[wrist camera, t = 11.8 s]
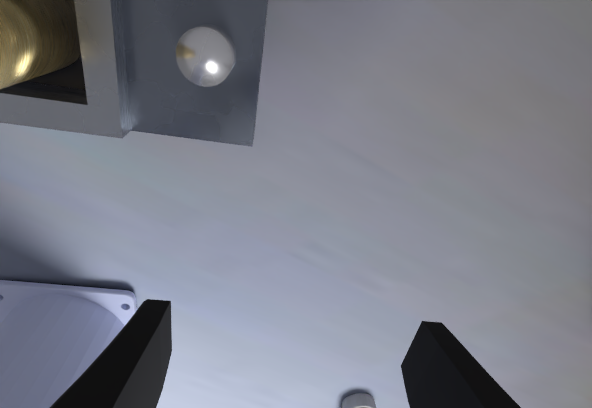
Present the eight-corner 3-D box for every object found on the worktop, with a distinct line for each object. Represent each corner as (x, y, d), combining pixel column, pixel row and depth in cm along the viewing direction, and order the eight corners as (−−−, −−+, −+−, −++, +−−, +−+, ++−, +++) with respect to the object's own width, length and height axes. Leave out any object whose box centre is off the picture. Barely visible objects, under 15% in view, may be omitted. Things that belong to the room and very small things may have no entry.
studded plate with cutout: (253, 138, 17) (250, 159, 15) (-177, 80, 15) (-253, 94, 13) (273, -48, 13) (271, -56, 11) (-291, -158, 11) (-425, -195, 9)
